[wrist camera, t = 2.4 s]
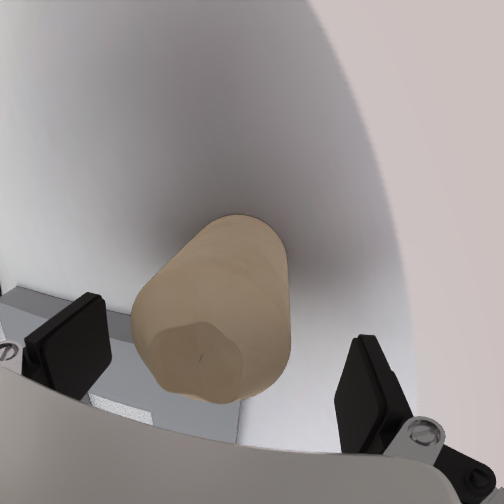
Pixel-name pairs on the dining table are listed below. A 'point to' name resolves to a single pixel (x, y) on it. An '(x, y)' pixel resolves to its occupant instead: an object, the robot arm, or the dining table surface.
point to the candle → (218, 314)
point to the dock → (124, 371)
